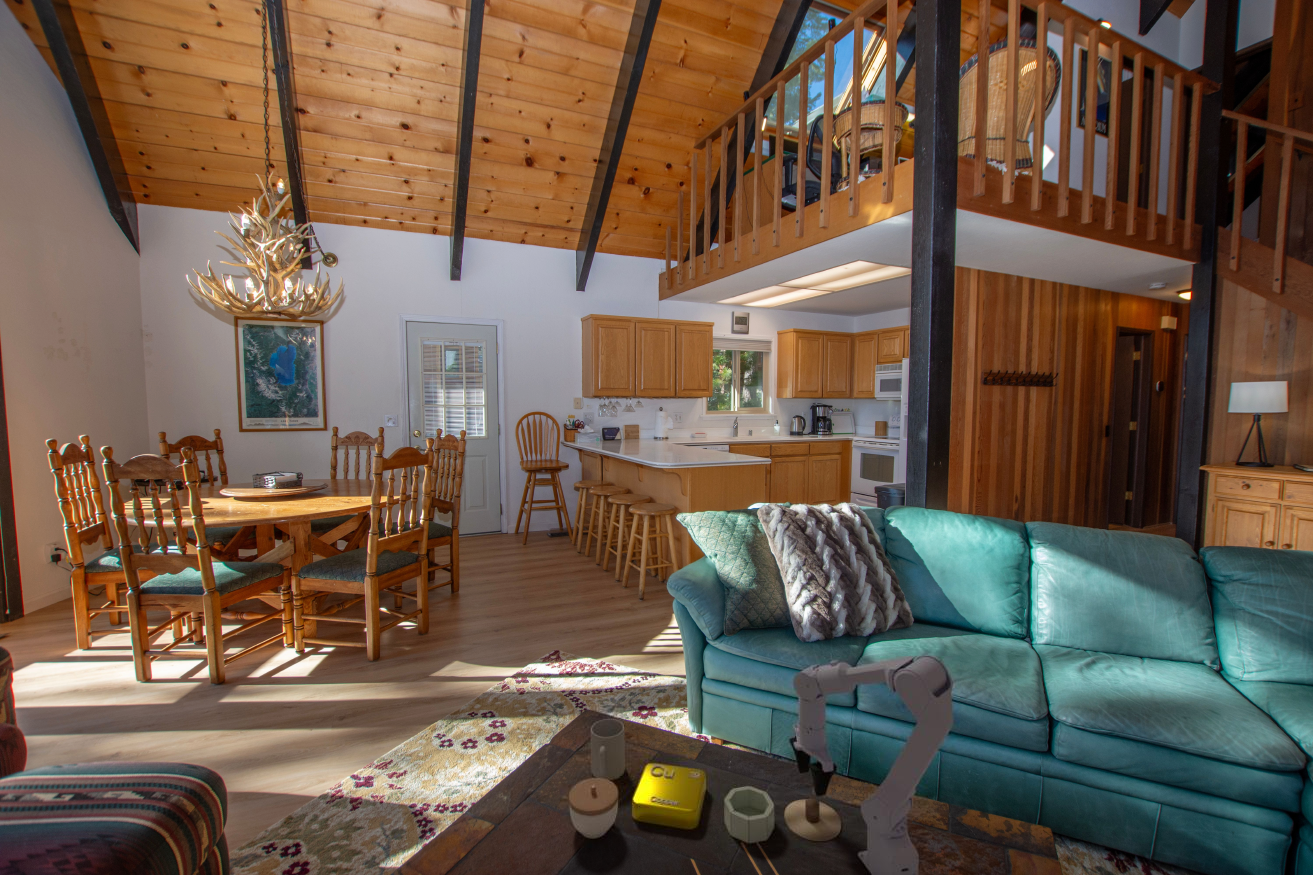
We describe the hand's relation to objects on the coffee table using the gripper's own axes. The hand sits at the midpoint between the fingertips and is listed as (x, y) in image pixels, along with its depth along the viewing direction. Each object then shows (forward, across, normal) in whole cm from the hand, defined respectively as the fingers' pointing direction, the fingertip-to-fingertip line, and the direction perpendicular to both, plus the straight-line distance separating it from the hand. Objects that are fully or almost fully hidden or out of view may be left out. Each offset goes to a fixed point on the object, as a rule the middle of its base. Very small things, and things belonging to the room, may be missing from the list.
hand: (811, 782), depth 123 cm
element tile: (+9, -13, -29) cm, 33 cm away
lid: (+9, 0, 0) cm, 9 cm away
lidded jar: (+9, -9, -47) cm, 49 cm away
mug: (+9, -26, -42) cm, 50 cm away
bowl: (+8, -2, -14) cm, 16 cm away
